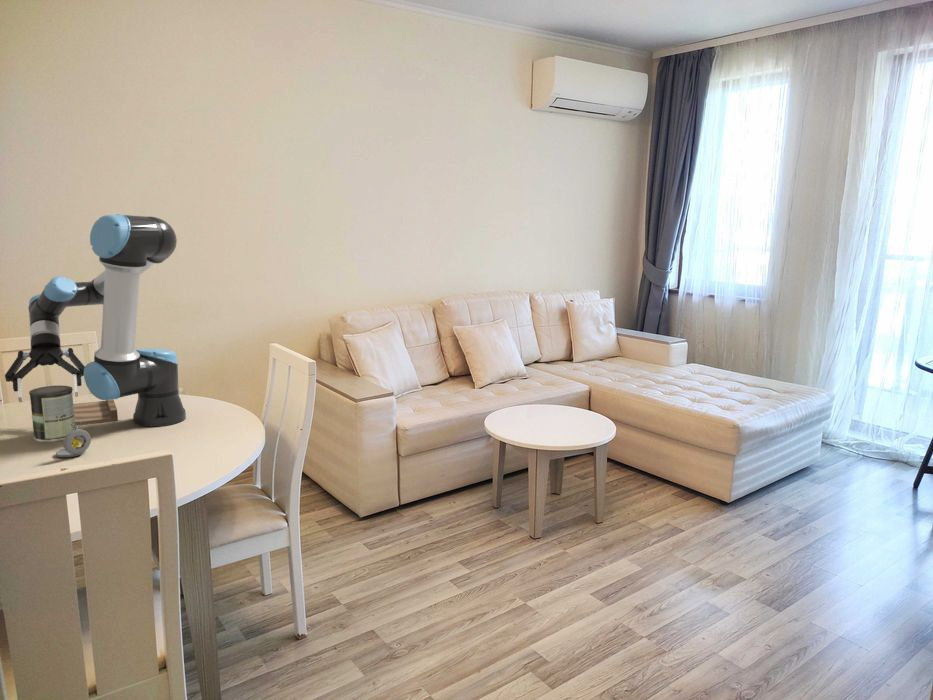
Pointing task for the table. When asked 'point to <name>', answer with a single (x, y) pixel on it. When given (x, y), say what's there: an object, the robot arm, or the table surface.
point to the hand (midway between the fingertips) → (48, 397)
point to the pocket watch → (75, 442)
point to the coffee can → (52, 412)
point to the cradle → (95, 412)
